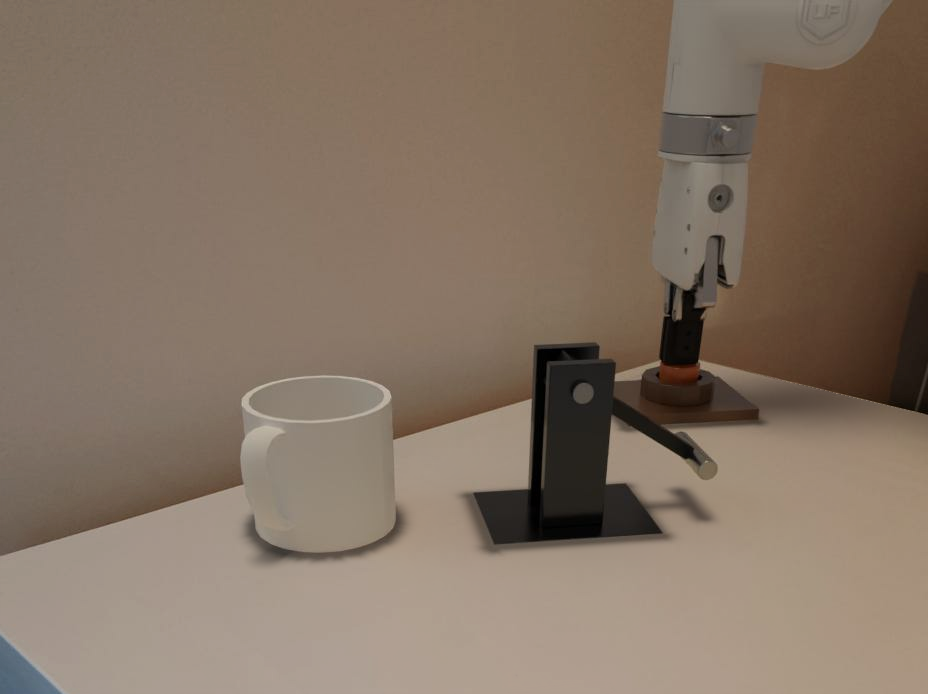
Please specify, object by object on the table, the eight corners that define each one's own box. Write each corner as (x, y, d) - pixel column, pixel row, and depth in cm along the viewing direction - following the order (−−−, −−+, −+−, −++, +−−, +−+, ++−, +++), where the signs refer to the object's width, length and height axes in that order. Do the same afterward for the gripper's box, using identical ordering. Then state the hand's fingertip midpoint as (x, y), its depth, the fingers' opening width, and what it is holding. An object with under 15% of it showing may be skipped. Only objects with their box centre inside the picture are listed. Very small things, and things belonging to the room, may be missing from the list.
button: (690, 374, 94) (692, 356, 93) (703, 386, 91) (706, 367, 90) (653, 376, 93) (655, 357, 92) (665, 388, 90) (667, 369, 89)
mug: (310, 498, 78) (299, 368, 73) (421, 524, 74) (418, 388, 68) (204, 564, 69) (182, 419, 63) (324, 597, 65) (312, 446, 59)
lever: (676, 458, 75) (696, 431, 74) (705, 489, 70) (726, 461, 69) (536, 372, 70) (555, 342, 69) (556, 399, 65) (577, 367, 64)
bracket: (624, 498, 78) (640, 332, 71) (661, 549, 70) (683, 368, 64) (472, 507, 76) (474, 339, 70) (493, 560, 69) (497, 377, 62)
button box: (715, 398, 99) (721, 357, 97) (756, 432, 90) (763, 389, 88) (597, 404, 97) (600, 363, 95) (627, 439, 89) (631, 395, 87)
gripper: (788, 147, 76) (749, 386, 85) (716, 129, 88) (689, 339, 98) (693, 148, 75) (664, 389, 84) (634, 130, 87) (615, 341, 97)
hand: (678, 362), depth 91 cm, fingers closed
